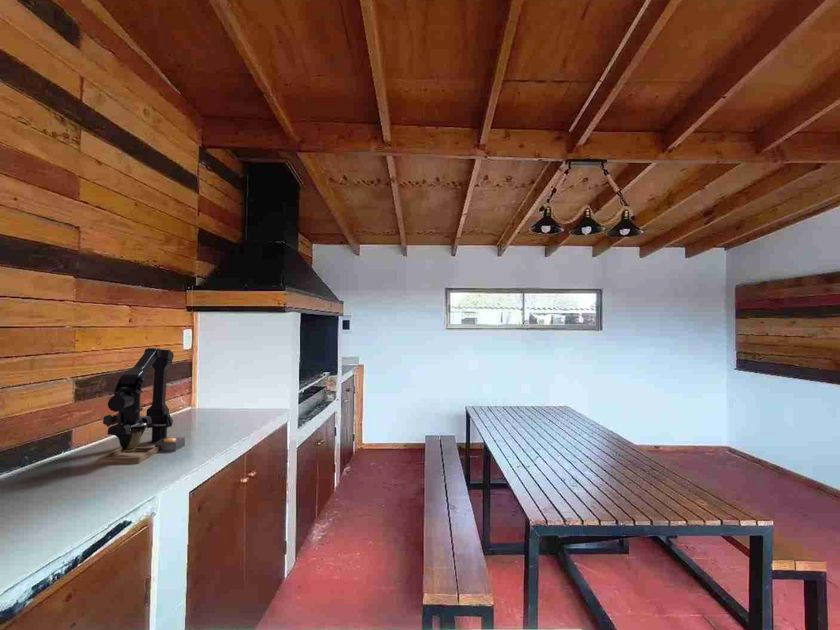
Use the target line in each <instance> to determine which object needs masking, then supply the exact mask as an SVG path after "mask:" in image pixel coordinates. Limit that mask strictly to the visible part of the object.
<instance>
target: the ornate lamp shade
mask: <svg viewBox="0 0 840 630" xmlns="http://www.w3.org/2000/svg"><path fill="white" fill-rule="evenodd" d="M130 432H133V434H132V437H131V440H130V442H129V445H128V448H127V450H124V452H125V453H132V452H134V451H135V450H136V448H135V447H138V446H139V444H140V443H141V439H142V436H141V434H142V430H141V429H140V431H138V430H137V429H136V430H135V429H132V430H131V431H130ZM142 435H143V434H142ZM118 442H119V446H120V448H121V447H122V446H121V443H120V441H119V440H118Z"/></svg>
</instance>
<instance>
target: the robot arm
mask: <svg viewBox="0 0 840 630" xmlns="http://www.w3.org/2000/svg"><path fill="white" fill-rule="evenodd" d="M173 360H174V352H173V351H171V349H161V348H159V347H148V348H146V349H144V353H143V354H142V355H141V357H140V358H139V359H138V360H137V362H136V363H135V365H134V366H133V367H132V368H130V369H127V370H126V371H124V372H123V373H122V374H121V375H120V376H119V379H118V381H117V383H116V386H115V388H114V390H113V396H111V397H110V398H109V400H108V401H107V408H108V409H109V410H110V411H112V412H118V414H115V415H112V414H107V415H105V416H103V419H102V424H103V425H104V426H106V428H107V431H106V432H107V433H106V434H107V435H110V436H111V435H112V436H114V437H115V436H116V437H117V439H118V442H119V441H120V442H119V444H120V443H121V446H122V449H123V450H127V448H128V445H129V442H130V440H131V437H132V434H133V432H130V431H131V430H132V429H135V430H136V429H137V430H138V431H140V429H141V430H142V434H141V437H143V435H144V432H145V431H146V429H150V428H151V439H150V440H148V441H147V443H148V444H151V443H152V444H155V442H157V441H159V440H161V439H163V438H168V428H171V427H172V426H173V422H174V420H173V418H172V416H171V414H170V408H169V407H168V406H167V404H166V398H167V397H166V396H167V394H166V393H167V380H168V379H167V377H168V369H169V368H170V367H171V366H172V365H173ZM151 367H152V369H153V371H154V372H153V373H154V374H153V389H152V404H151V405H150V406H149V408H147V409H146V413H145V414H146V415H141V411H143V409H144V408H143V407H141V394H142V393H143V390H142V389H143V386H144V385H145V383H146V374H147V373H148V372H149V370H150V369H151ZM121 446H120V447H121Z"/></svg>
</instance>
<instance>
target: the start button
mask: <svg viewBox="0 0 840 630" xmlns="http://www.w3.org/2000/svg"><path fill="white" fill-rule="evenodd" d="M174 441H176V438H173V437H167V439H164V442H174Z"/></svg>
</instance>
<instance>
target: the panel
mask: <svg viewBox="0 0 840 630" xmlns="http://www.w3.org/2000/svg"><path fill="white" fill-rule="evenodd" d="M167 438H168V437H167ZM167 438H163V439H161V440H159V441H157V442H155V443H154V447H159V451H162V452H177V451H178V449H179V450H180V449H181V447H182V448H183V446H184V447H185V446H186V444H185V443H186V437H185V436H184V437H182V436H181V437H174V436H173V437H172V438H176V441H174V442H164V439H167ZM176 450H177V451H176Z"/></svg>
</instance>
